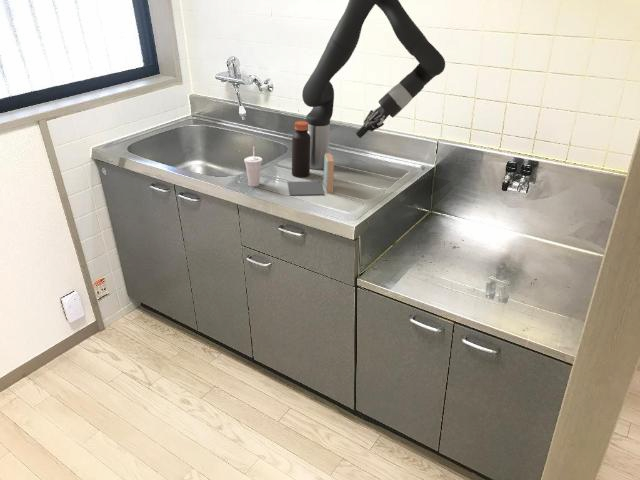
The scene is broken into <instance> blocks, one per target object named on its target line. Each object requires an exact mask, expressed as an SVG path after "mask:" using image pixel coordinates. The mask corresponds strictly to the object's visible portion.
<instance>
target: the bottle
mask: <svg viewBox="0 0 640 480" xmlns="http://www.w3.org/2000/svg"><path fill="white" fill-rule="evenodd" d="M294 131H295V132H294V133H293V134H292V136H291V139H292V140H291V148H292V149H291V175H292V176H294V177H296V178H306V177H308V176H310V171H311V168H310V140H311V137H310V135H309V134H308V133H307V131H308V122H306V121H302V120H299V121H295V122H294Z"/></svg>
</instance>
